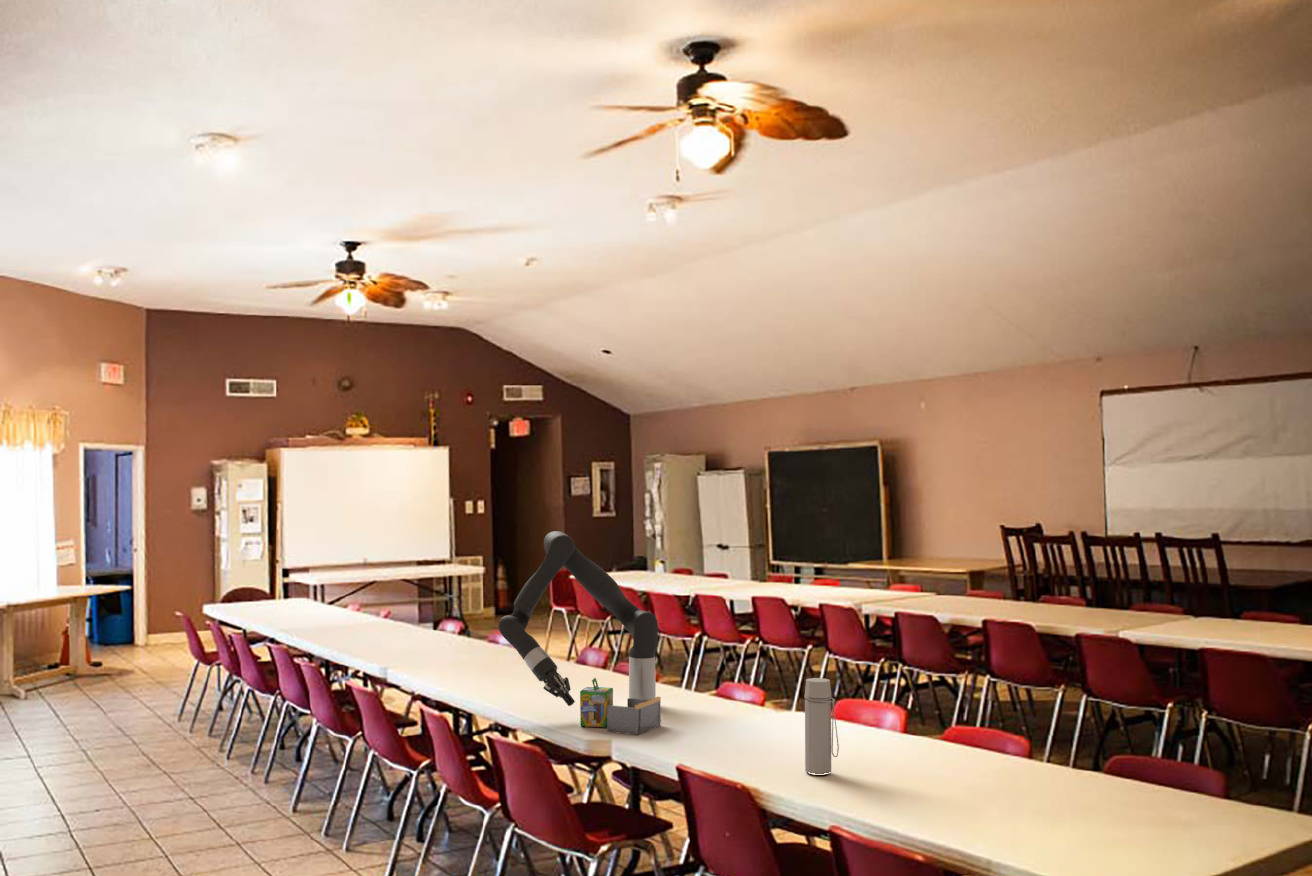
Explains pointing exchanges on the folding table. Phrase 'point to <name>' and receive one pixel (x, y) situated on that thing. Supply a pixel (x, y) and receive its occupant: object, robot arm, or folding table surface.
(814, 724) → the water bottle
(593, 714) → the chalk box
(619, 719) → the grey rectangular box
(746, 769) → the folding table surface
